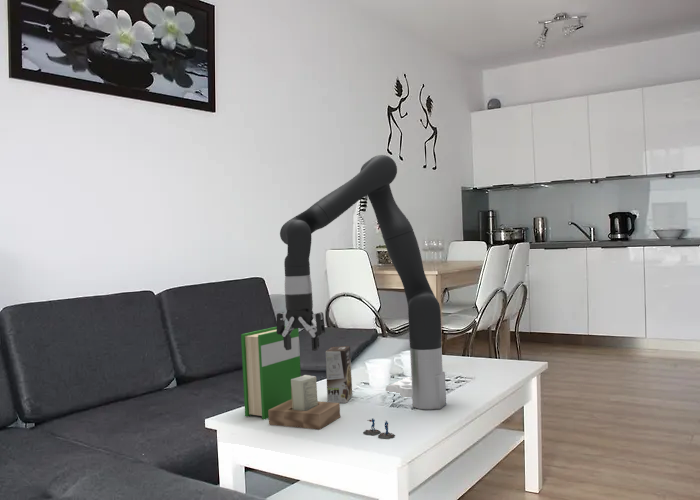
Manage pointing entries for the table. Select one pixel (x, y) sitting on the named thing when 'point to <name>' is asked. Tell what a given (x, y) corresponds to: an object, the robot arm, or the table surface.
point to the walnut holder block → (304, 415)
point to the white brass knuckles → (401, 387)
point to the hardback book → (268, 369)
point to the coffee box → (338, 374)
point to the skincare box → (304, 392)
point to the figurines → (375, 431)
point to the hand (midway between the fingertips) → (301, 350)
